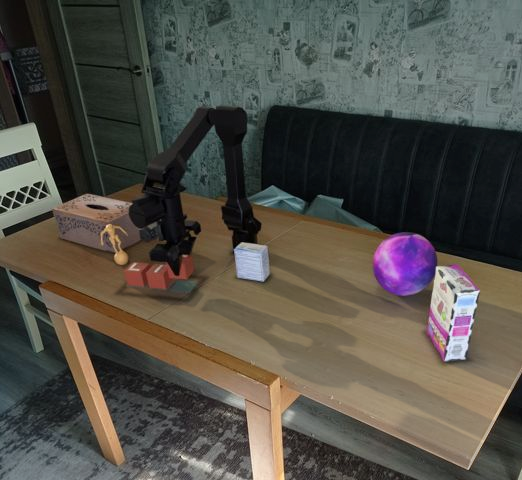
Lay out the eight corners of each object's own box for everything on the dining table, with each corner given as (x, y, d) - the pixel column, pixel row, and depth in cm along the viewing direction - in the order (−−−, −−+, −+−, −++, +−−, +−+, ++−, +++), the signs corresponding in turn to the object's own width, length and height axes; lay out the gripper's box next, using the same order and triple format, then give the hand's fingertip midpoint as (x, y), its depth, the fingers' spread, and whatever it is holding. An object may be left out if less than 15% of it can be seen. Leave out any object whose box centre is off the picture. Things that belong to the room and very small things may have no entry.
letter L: (152, 278, 146) (149, 263, 143) (144, 287, 142) (140, 271, 139) (136, 276, 147) (132, 261, 144) (127, 285, 143) (123, 270, 141)
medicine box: (270, 274, 144) (268, 245, 139) (263, 282, 141) (261, 252, 135) (244, 270, 147) (241, 241, 142) (236, 278, 143) (233, 248, 138)
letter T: (194, 270, 140) (191, 254, 137) (186, 279, 136) (184, 263, 134) (177, 268, 142) (174, 253, 139) (169, 277, 138) (165, 261, 135)
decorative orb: (431, 310, 124) (440, 251, 116) (367, 304, 129) (370, 247, 120) (434, 279, 136) (442, 223, 127) (375, 274, 140) (378, 220, 131)
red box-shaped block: (174, 280, 144) (171, 264, 141) (166, 289, 140) (163, 273, 138) (157, 278, 145) (154, 263, 143) (149, 287, 142) (145, 272, 139)
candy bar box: (467, 360, 109) (481, 290, 99) (443, 362, 109) (455, 293, 99) (447, 329, 118) (458, 262, 108) (425, 332, 118) (434, 265, 108)
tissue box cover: (149, 235, 170) (142, 205, 164) (115, 253, 161) (108, 222, 155) (94, 221, 183) (86, 193, 177) (60, 238, 173) (51, 208, 167)
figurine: (113, 271, 152) (103, 232, 145) (103, 265, 155) (93, 226, 148) (138, 261, 156) (130, 222, 149) (128, 255, 160) (119, 217, 152)
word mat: (204, 277, 145) (204, 276, 145) (187, 300, 136) (187, 298, 135) (139, 271, 150) (139, 270, 150) (118, 293, 141) (117, 291, 141)
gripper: (158, 197, 138) (168, 252, 148) (123, 227, 124) (137, 285, 134) (197, 199, 135) (205, 255, 145) (166, 230, 121) (177, 289, 130)
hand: (181, 270), depth 138 cm, fingers closed on letter T, 5 cm apart
